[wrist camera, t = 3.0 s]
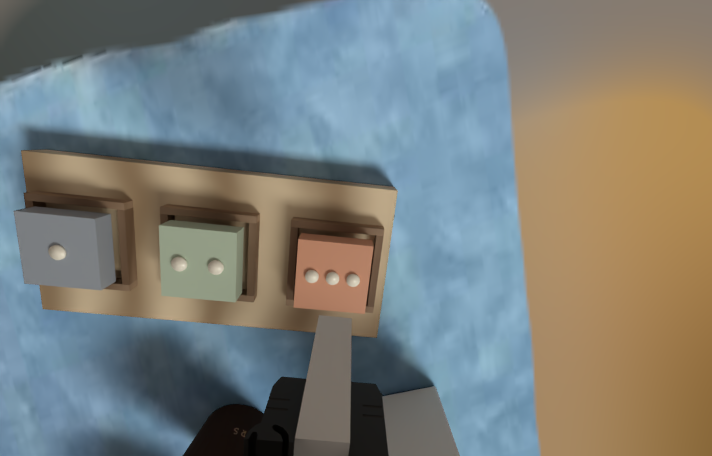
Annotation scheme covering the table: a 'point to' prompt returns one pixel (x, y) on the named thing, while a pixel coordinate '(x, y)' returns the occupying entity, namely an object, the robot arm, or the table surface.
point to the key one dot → (65, 247)
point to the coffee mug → (225, 431)
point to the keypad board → (212, 206)
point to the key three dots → (332, 273)
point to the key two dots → (201, 260)
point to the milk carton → (417, 424)
